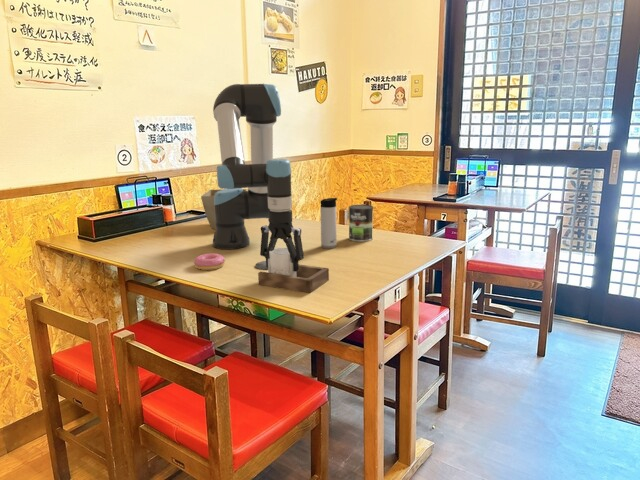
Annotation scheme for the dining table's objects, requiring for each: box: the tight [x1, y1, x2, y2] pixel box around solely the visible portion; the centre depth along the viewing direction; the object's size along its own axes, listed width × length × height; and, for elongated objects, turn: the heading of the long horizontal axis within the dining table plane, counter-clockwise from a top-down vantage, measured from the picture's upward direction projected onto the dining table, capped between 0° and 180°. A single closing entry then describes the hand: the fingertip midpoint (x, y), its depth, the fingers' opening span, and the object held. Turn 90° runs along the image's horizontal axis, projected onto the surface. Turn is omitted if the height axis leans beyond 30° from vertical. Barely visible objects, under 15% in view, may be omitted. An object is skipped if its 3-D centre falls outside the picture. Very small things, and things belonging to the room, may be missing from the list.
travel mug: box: [320, 197, 338, 250], centre depth 197 cm, size 6×7×20 cm
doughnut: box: [193, 252, 226, 271], centre depth 176 cm, size 11×11×4 cm
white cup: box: [269, 247, 292, 276], centre depth 158 cm, size 8×8×10 cm
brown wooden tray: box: [257, 263, 330, 294], centre depth 157 cm, size 18×13×4 cm
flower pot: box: [200, 188, 248, 230], centre depth 237 cm, size 19×19×17 cm
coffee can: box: [348, 204, 374, 243], centre depth 209 cm, size 10×10×14 cm
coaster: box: [255, 260, 268, 271], centre depth 176 cm, size 9×9×1 cm
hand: (282, 278), depth 159 cm, fingers closed on white cup, 7 cm apart
